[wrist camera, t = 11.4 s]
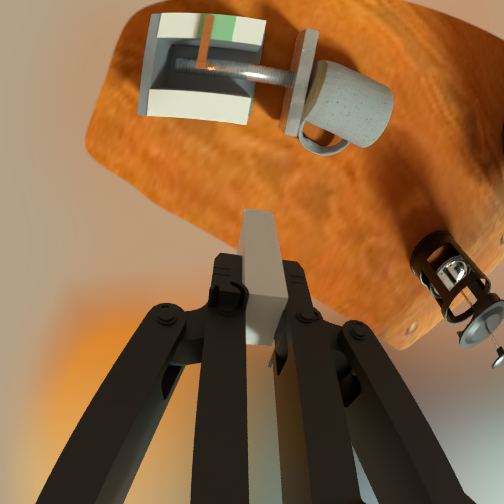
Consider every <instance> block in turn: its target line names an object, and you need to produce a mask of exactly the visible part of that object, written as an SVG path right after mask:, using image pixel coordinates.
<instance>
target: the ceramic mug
mask: <svg viewBox="0 0 504 504" xmlns="http://www.w3.org/2000/svg"><path fill="white" fill-rule="evenodd" d="M392 109H393V95H392V92H391V90H390V89H389V88H388V87H386V86H385V85H383V84H381V83H379V82H377V81H375V80H373V79H371V78H369V77H367V76H365V75H363V74H361V73H358V72H356V71H354V70H351V69H349V68H347V67H345V66H343V65H341V64H338V63H335V62H331V61H328V60H319V61H317V62H316V63H315V64H314V65H313V66H312V69H311V74H310V78H309V83H308V88H307V92H306V97H305V102H304V106H303V111H302V115H301V120H300V124H299V129H298V137H299V140H300V142H301V144H302V145H303V146H304V147H305V148H306V149H307V150H309V151H310V152H312V153H315V154H317V155H322V156H328V155H333V154H336V153H338V152H340V151H342V150H343V149H344V148H346V147H347V146H348V145H349V144H350V143H353V144H355V145H356V146H359V147H362V148H365V147H368V146H370V145H372V144H373V143H374V142H375V141H376V140H377V139H378V138H379V137H380V135H381V134H382V133H383V131H384V130H385V128H386V126H387V124H388V122H389V119H390V116H391V113H392ZM305 121H307V122H309V123H311V124H313V125H315V126H317V127H320V128H322V129H324V130H327V131H329V132H331V133H333V134H335V135H337V136H339V137H341V138H343V140H342V141H340V142H339V143H337V144H336V145H333V146H329V147H325V146H320V145H318V144H316V143H314V142H312V141H311V140H310V139H309V138H305V137H304V135H303V133H302V129H303V125H304V124H305Z"/></svg>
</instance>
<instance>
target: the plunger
mask: <svg viewBox="0 0 504 504" xmlns="http://www.w3.org/2000/svg"><path fill="white" fill-rule="evenodd" d="M214 20H215V16H211V15H206V17H205V22H204V26H203V32H202V37H201V42H200V48H199V53H198V58H192V57H178V58H177V60H176V64H175V73H176V74H194V75H206V76H217V77H226V78H234V79H242V80H248V81H255V82H261V83H267V84H272V85H278V86H283V87H286V91H285V96H284V101H283V106H282V110H281V115H280V120H279V125H278V127H279V128H280V129H281V131H282V132H283V133H284V134H286V135H291V136H296V137H297V133H298V129H299V124H300V120H301V115H302V111H303V106H304V102H305V97H306V92H307V88H308V83H309V78H310V74H311V69H312V64H313V60H314V55H315V50H316V45H317V40H318V35H319V31H317V30H313V29H309V28H306V29H304V30H303V31H302V32H300V33H299V34H298V35H297V37H296V42H295V47H294V52H293V57H292V62H291V67H290V71H288V70H283V69H278V68H273V67H268V66H262V65H256V64H250V63H243V62H235V61H227V60H217V59H207V56H208V51H209V45H210V40H211V35H212V29H213V24H214Z"/></svg>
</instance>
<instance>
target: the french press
mask: <svg viewBox="0 0 504 504" xmlns="http://www.w3.org/2000/svg"><path fill="white" fill-rule="evenodd" d="M446 244H448V245H449V251H448V255H447V257H446V259H445V260H444V262H443V263H441V264H440V265H439V266H438V268H436V269H435V270H434V269H433V268H432V267H431V265H430V264H429V263H428V261H427V259H428V258H429V256H430V255H431V254H432V253H433V252H434V251H435V250H437V249H438V248H440V247H441V246H443V245H446ZM471 268H472V269H471ZM411 269H412V271H413V273H414V274H415V275H416V276H418V278H419V279H420V281H421V282H422V284H423V285H424V286H426V287H428V289H429V290H430V292H431V294H432V296H433V297H434V298H435V299H436V301H437V302H438V304H439V305H440V307H441V312H442V315H443V317H444V318H445V320H446V321H447V322H448V323H449V324H457V323H461V322H463V321H465V320H467V319H468V318H469V317H471V316H472V315H473V317H472V319H471V321H470V323H469V324H468V325H467V327H466V328H465V329H464V330H463V331H459V332H457V334H458V336H459V338H460V339H459V344H460V346H461V347H462V348H470V347H472V346H475V345H477V344H479V343H480V342H482V341H483V340H484V339H486V338H487V337H488V336H489V335H490V337H491V339H492V340H493V342H494V344H495V345H496V347H497V348H498V349H497V353H498V355H499V357H498V358H497V359H496V361H495V362H494V363H493V365H492V368H493V369H494V368H497V367H499V366H501V365H502V364H504V350H503V348H502V347H499V345H498V344H497V342H496V340H495V339H494V337H493V335H492V333H493V331H494V330H495V329H496V328H497V327H498V326H499V325H500V323H501V322H502V320H503V319H504V300H501V299H500V298H499V296H498V295H497V294H495V293H490V289H491V283H490V280H489V279H488V278H487V276H486V275H485V274H484V273H482V271H481V270H480V269H479V268H478V267H477V266H476V264H475V263H474V262H473V261H472V260H471V259H470V258H469V257H468V255H467V254H466V253H465V252H464V251H463V250H462V249H461V247H460V246H459V245H458V244H457V243H456V242H455V241H454V239H453V237H452V236H451V235H450V234H449V233H448V232H445V231H435V232H433V233H431V234H429V235H427V236H426V237H425V238H423V239H422V240H421V241H420V242H419V244H418V245H417V246H416V248H415V250H414V252H413V254H412V257H411ZM473 271H474V272H473ZM483 278H484V279H485V280H486V283H485V285H484V284H483V283H482V281H481V280H480V279H483ZM466 286H468V288H469V289H470V290H471V292H472V293H473V294H474V296H475V297H476V298H477V301H476V303H475V304H474V305H472V303H471V302H470V301H469V299H468V298H467V296H466V295H465V294H464V292H463V291H462V289H464V288H465V287H466ZM459 292H461V293H462V295H463V296H464V298H465V299H466V300H467V302H468V303H469V305H470V306H471V308H470V309H468V310H467V311H465V312H464V313H462V314H460V315H458V316H456V317H455V316H454V315H453V313H452V311H451V310H450V308H449V306H450V304H451V302H452V301H453V299H454V298H455V297H456V296H457V294H458V293H459Z"/></svg>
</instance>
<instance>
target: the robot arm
mask: <svg viewBox="0 0 504 504" xmlns="http://www.w3.org/2000/svg"><path fill="white" fill-rule="evenodd" d="M503 151H504V125H503ZM273 340H275V349H274V351H273V354H272V356H271V359H270V361H269V366H268V367H271V366H272V363H273V372H274V385H275V398H276V412H277V425H278V440H279V455H280V470H281V486H282V502H283V504H366V503H364V502H363V501H362V499H361V496H360V491H359V485H358V479H357V473H356V467H355V461H354V456H353V450H352V445H353V448H354V450H355V452H356V454H357V456H358V458H359V461H360V463H361V465H362V467H363V469H364V472H365V474H366V476H367V478H368V480H369V483H370V485H371V487H372V489H373V491H374V494H375V496H376V498H377V500H378V502H379V504H476V503H475V502H474V501H473V500H472V499H471V498H470V497H469V496H467V495H466V494H465V493H464V491H463V489H462V487H461V485H460V483H459V481H458V479H457V477H456V475H455V473H454V471H453V469H452V467H451V465H450V463H449V461H448V459H447V457H446V455H445V453H444V451H443V450H442V448H441V446H440V444H439V442H438V440H437V438H436V437H435V435H434V433H433V431H432V429H431V427H430V426H429V424H428V422H427V421H426V418H425V417H424V415H423V414H422V411H421V410H420V408H419V406H418V405H417V403H416V401H415V399H414V398H413V396H412V394H411V393H410V391H409V389H408V387H407V386H406V384H405V383H404V381H403V379H402V378H401V376H400V374H399V373H398V371H397V370H396V368H395V366H394V365H393V363H392V361H391V360H390V358H389V357H388V355H387V353H386V352H385V350H384V349H383V347H382V346H381V344H380V342H379V341H378V339H377V338H376V336H375V335H374V333H373V332H372V330H371V329H370V328H369V327H368V326H367V325H366V324H364V323H363V322H360V321H357V320H350V321H347V322H346V323H345V324H344V325H343V326H342V327H341V326H338V325H335V324H332V323H329V322H327V321H325V320H323V317H322V316H321V313H320V312H319V311H318V310H317V309H315V308H314V307H313V305H312V301H311V297H310V293H309V289H308V285H307V281H306V278H305V273H304V270H303V268H302V267H301V266H300V264H299V263H298V262H295V261H287V260H282V258H281V253H280V247H279V242H278V236H277V231H276V226H275V220H274V215H273V212H270V211H263V210H256V209H249V208H245V210H244V216H243V222H242V227H241V233H240V239H239V245H238V250H237V255H234V254H226V253H220V254H219V255H218V256H217V257H216V258H215V261H214V268H213V275H212V282H211V287H210V289H209V300H208V302H207V303H206V305H204V306H203V307H202V308H199V309H197V310H192V311H185V312H184V310H183V309H182V308H181V307H179V306H177V305H175V304H171V303H162V304H158V305H156V306H154V307H153V308H152V309H151V310H150V311H149V312H148V313H147V315H146V317H145V318H144V319H143V321H142V323H141V324H140V325H139V327H138V328H137V330H136V331H135V333H134V334H133V336H132V337H131V339H130V340H129V342H128V343H127V345H126V346H125V348H124V350H123V351H122V353H121V354H120V356H119V357H118V359H117V360H116V362H115V364H114V365H113V367H112V368H111V370H110V371H109V373H108V375H107V376H106V378H105V379H104V381H103V383H102V384H101V386H100V387H99V389H98V391H97V393H96V394H95V396H94V397H93V399H92V401H91V402H90V404H89V406H88V407H87V409H86V411H85V412H84V414H83V416H82V417H81V419H80V421H79V423H78V424H77V426H76V428H75V430H74V431H73V433H72V435H71V437H70V438H69V441H68V442H67V444H66V446H65V447H64V449H63V451H62V453H61V455H60V457H59V458H58V460H57V462H56V464H55V466H54V468H53V470H52V472H51V474H50V475H49V477H48V479H47V482H46V483H45V485H44V487H43V490H42V491H41V493H40V495H39V497H38V500H37V502H36V504H123V503H124V501H125V498H126V496H127V494H128V491H129V489H130V487H131V485H132V482H133V480H134V478H135V476H136V473H137V471H138V469H139V467H140V464H141V462H142V460H143V458H144V455H145V453H146V451H147V449H148V446H149V444H150V442H151V440H152V438H153V435H154V433H155V431H156V429H157V427H158V424H159V422H160V420H161V418H162V416H163V413H164V411H165V409H166V406H167V405H168V402H169V400H170V398H171V396H172V394H173V392H174V389H175V387H176V385H177V383H178V381H179V379H180V376H181V374H182V372H183V370H184V368H185V365H189V364H195V363H201V371H200V380H199V390H198V401H197V412H196V425H195V436H194V450H193V464H192V481H191V501H190V504H249V484H248V483H249V482H248V437H247V435H248V434H247V378H246V344H255V345H268V346H271V345H272V343H273ZM351 443H352V445H351Z"/></svg>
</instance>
